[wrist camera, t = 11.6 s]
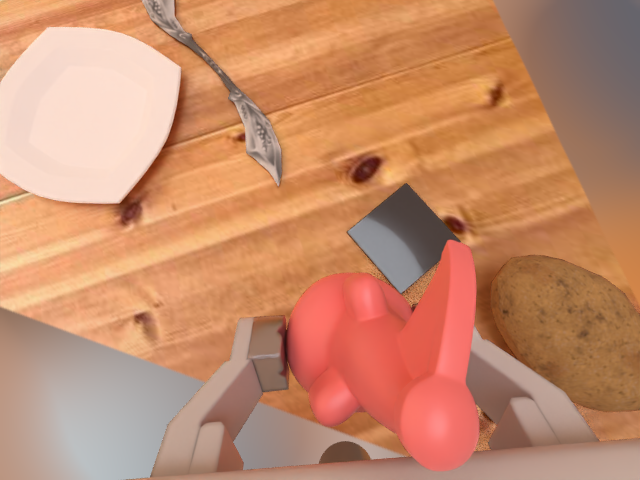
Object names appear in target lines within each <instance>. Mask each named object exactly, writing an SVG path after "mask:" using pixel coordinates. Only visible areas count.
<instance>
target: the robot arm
mask: <svg viewBox="0 0 640 480" xmlns="http://www.w3.org/2000/svg"><path fill="white" fill-rule="evenodd" d="M417 305H418V303H417V304H413V306H412V310H413V312H414V310H415V308H416V307H417ZM286 333H287V330H286V318H285V315H278V316H260V317H247V318H240V319H239V321H238V323H237V328H236V332H235V337H234V342H233V346H232V351H231V355H230V360H229V361H225V362H224V363H223V364H222V365H221V366H220V367H219V368H218V369H217V370H216V372H215V373H214V374H213V375H212V376H211V377H210V378H209V379H208V380H207V382H206V383H205V384H204V385H203V386H202V387H201V388H200V389H199V390H198V392H197V393H196V394H195V395H194V396H193V397H192V398H191V399H190V400H189V402H188V403H187V404H186V405H185V406H184V407H183V408H182V409H181V410H180V411H179V413H178V414H177V415H176V416H175V417H174V418H173V419H172V420H171V421H170V423H169V424H168V426H167V429H166V432H165V435H164V437H163V440H162V443H161V447H160V449H159V452H158V455H157V458H156V461H155V464H154V467H153V470H152V473H151V476H150V478H140V479H129V480H640V438H635V439H622V440H610V441H599V440H598V438H597V437H596V435H595V434H594V433H593V431H592V430H591V428H590V427H589V425H588V424H587V423H586V421H585V420H584V418H583V417H582V415H581V414H580V413H579V411H578V410H577V408H576V407H575V405H574V404H573V403H572V401H571V400H570V398H569V397H568V396H567V394H566V393H565V392H564V391H563V390H561V389H560V388H558V387H557V386H555V385H554V384H552V383H551V382H549V381H548V380H546V379H545V378H543V377H542V376H540V375H539V374H537V373H536V372H535V371H533V370H532V369H530V368H529V367H527V366H526V365H524V364H523V363H521V362H520V361H518V360H517V359H515V358H514V357H512V356H511V355H509V354H508V353H507V352H505V351H504V350H502V349H501V348H499V347H498V346H496V345H495V344H493V343H492V342H490V341H489V340H483V339H482V338H481V336H480V334H479V332H478V331H477V329H476V327H475V325H474V329H473V337H472V344H471V351H470V357H469V363H468V369H467V375H466V385H467V387H468V389H469V390H470V392H471V394H472V396H473V398H474V401H475V404H477V405H478V406H479V407H480V408H481V409H482V410H483V411H484V412H485V413H486V414H487V415H488V416H489V417H490V418H491V419H492V420H493V421H494V422H495V423H496V424H497V426H496V428H495V430H494V432H493V434H492V436H491V438H490V440H489V442H488V444H489V446H490V449H491V450H486V451H474V452H473V454H472V455H471V457H470V458H469V459H468V460H467V461H466V462H465V463H464V464H463V465H461V466H460V467H458V468H456V469H453V470H449V471H432V470H429V469H427V468H425V467H423V466H422V465H420V464H419V463H418V462H417V461H416V460H415V459H414V458H413V457H412V456H411V457H399V458H387V459H374V460H362V461H349V462H337V463H325V464H313V465H301V466H287V467H275V468H263V469H251V470H243V461H242V459H241V457H240V455H239V453H238V451H237V449H236V447H235V445H234V443H233V441H234V440H235V438H236V436H237V435H238V433H239V432H240V430H241V428H242V427H243V425H244V424H245V422H246V420H247V418H248V417H249V415H250V414H251V412H252V411H253V409H254V407H255V406H256V404H257V403H258V401H259V399H260V398H261V396H262V395H263V393H262V392H269V391H278V390H287V389H289V366H288V362H287V361H288V359H287V353H286ZM127 480H128V479H127Z"/></svg>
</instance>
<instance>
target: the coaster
mask: <svg viewBox="0 0 640 480" xmlns="http://www.w3.org/2000/svg"><path fill="white" fill-rule="evenodd" d="M347 233H348V234H349V236H350V237H351V238H352V239H353V240H354V241H355V243H356V244H357V245H358V246H359V247H360V248H361V250H362V251H363V252H364V253H365V254H366V255H367V257H368V258H369V259H370V260H371V261H372V262H373V263H374V265H375V266H376V267H377V268H378V269H379V270H380V272H381V273H382V274H383V275H384V276H385V277H386V279H387V280H388V281H389V282H390V283H391V284H392V286H393V287H394V288H395V289H396V290H397V291H398V292H399V293H400V294H402V293H403V292H404V291H405V290H406V289H407V288H409V287H410V286H411V285H412V284H413V283H414V282H416V281H417V280H418V279H419V278H420V277H421V276H422V275H424V274H425V273H426V272H427V271H428V270H429V269H430V268H432V267H433V266H434V265H435V264H436V263H437V262H439V261H440V260H441V255H442V252H443V250H444V247H445V245H446V243H447V241H448V240H454V241H457V242H461V241H460V240H459V239H458V238H457V237H456V236H455V235H454V234H453V233H452V232H451V231H450V230H449V228H448V227H447V226H446V225H445V224H444V223H443V222H442V221H441V220H440V219H439V218H438V217H437V215H436V214H435V213H434V212H433V211H432V210H431V209H430V208H429V207H428V206H427V205H426V204H425V202H424V201H423V200H422V199H421V198H420V197H419V196H418V195H417V194H416V193H415V192H414V191H413V189H412V188H411V187H410V186H409V185H408V184H407V183H406V184H404V185H403V186H402V187H401V188H399V189H398V190H397V191H396V192H395V193H393V194H392V195H391V196H390V197H389V198H387V199H386V200H385V201H384V202H382V203H381V204H380V205H379V206H378V207H376V208H375V209H374V210H373V211H372V212H370V213H369V214H368V215H367V216H365V217H364V218H363V219H362V220H361V221H359V222H358V223H357V224H356V225H355V226H353V227H352V228H351V229H350V230H349V231H347Z"/></svg>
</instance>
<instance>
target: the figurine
mask: <svg viewBox="0 0 640 480" xmlns="http://www.w3.org/2000/svg"><path fill="white" fill-rule="evenodd" d="M475 309H476V273H475V266H474V261H473V257H472V253H471V250H470V248H469V247H468V246H467V245H465V244H463V243H460V242H457V241H454V240H448V241H447V243H446V245H445V247H444V250H443V252H442V255H441V260H440V263H439V266H438V268H437V270H436V272H435V274H434V276H433V278H432V280H431V282H430V284H429V285H428V287H427V289H426V291H425V293H424V294H423V296H422V298H421V300H420V301H419V303H418V305H417V307H416V308H415V310H414V312H413V310H412V308H411V307H410V305H409V303H408V302H407V301H406V299H405V298H404V297H403V296H402V295H401V294H400V293H399V292H398V291H397V290H396V289H394V288H393V287H392V286H390V285H389V284H387V283H385V282H384V281H382V280H380V279H377V278H375V277H374V276H372V275H371V274H368V273H339V274H333V275H329V276H326V277H324V278H322V279H320V280H318V281H316V282H315V283H314V284H312V285H311V286H310V287H309V288H308V289H307V290H306V291H305V292H304V293H303V295H302V296H301V297H300V299H299V300H298V302H297V303H296V305H295V307H294V309H293V311H292V313H291V316H290V319H289V323H288V327H287V333H286V353H287V359H288V363H289V366H290V369H291V371H292V373H293V375H294V376H295V378H296V379H297V381H298V382H299V383H300V385H301V386H302V387H303V388H304V389H305V390H306V391H307V392H308V393H309V395H308V396H309V402H310V406H311V409H312V411H313V414H314V416H315V417H316V419H317V420H318V421H319V423H321V424H322V425H324V426H327V427H333V426H337V425H339V424H341V423H343V422H344V421H346V420H347V419H348V418H349V417H350V416H351V415H353V414H354V413H355V412H367V413H368V414H369V415H371V416H372V417H373V418H374V419H375V420H377V421H378V422H379V423H381V424H382V425H383V426H385V427H386V428H388V429H389V430H391V431H392V432H394V433H396V434H397V435H398V438H399V440H400V442H401V443H402V445H403V447H404V448H405V449H406V451H407V452H408V453H409V454H410V455H411V456H412V457H413V458H414V459H415V460H416V461H417V462H418V463H419V464H420V465H422V466H423V467H425V468H427V469H429V470H432V471H449V470H453V469H456V468H458V467H460V466H461V465H463V464H464V463H465V462H466V461H467V460H468V459H469V458H470V457H471V455H472V454H473V452H474V450H475V448H476V445H477V442H478V438H479V417H478V411H477V407H476V404H475V401H474V398H473V396H472V394H471V392H470V390H469V389H468V387H467V385H466V375H467V369H468V363H469V357H470V351H471V344H472V337H473V329H474V320H475Z"/></svg>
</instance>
